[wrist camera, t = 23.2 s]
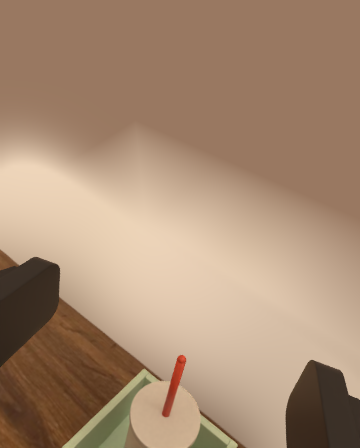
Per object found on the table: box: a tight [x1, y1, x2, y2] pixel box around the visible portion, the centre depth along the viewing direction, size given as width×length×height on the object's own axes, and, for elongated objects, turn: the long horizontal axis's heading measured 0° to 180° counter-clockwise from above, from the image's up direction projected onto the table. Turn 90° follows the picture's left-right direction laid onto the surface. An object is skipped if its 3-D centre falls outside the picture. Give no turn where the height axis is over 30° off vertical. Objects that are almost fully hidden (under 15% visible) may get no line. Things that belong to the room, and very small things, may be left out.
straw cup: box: [124, 355, 201, 448], centre depth 26 cm, size 6×6×17 cm
